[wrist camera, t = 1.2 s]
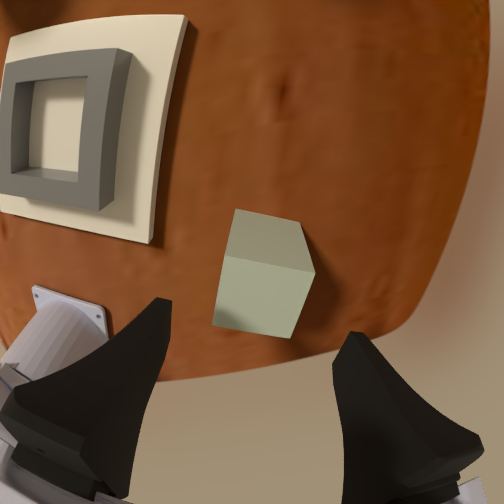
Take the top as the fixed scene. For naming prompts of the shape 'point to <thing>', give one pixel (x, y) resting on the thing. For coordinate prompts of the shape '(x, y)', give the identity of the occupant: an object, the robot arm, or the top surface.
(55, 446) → the robot arm
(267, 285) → the plug block
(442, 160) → the top surface
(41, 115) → the dock
